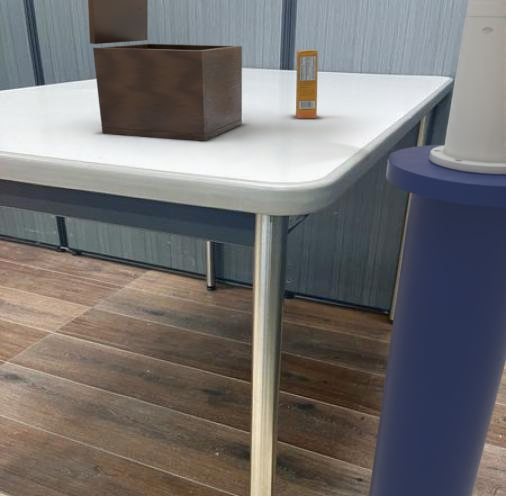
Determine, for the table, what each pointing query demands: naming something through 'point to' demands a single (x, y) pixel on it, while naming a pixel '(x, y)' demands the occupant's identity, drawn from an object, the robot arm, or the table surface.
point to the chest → (169, 90)
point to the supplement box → (306, 84)
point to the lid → (118, 21)
